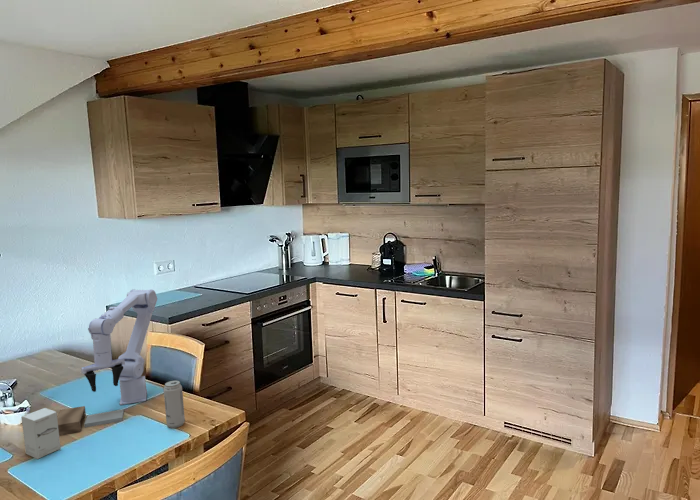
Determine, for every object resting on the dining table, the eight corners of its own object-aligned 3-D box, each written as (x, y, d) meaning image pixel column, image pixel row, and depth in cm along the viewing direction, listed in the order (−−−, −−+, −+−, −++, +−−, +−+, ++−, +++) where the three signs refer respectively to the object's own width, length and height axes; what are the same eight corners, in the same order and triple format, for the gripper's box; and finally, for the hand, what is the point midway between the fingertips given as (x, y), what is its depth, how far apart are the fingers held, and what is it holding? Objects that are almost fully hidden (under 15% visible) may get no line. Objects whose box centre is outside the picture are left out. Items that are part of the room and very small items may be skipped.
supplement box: (37, 459, 158) (32, 420, 156) (25, 454, 162) (20, 415, 160) (61, 449, 164) (57, 411, 162) (49, 443, 168) (44, 406, 166)
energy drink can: (166, 422, 179) (162, 381, 178) (184, 419, 182) (180, 378, 180) (167, 430, 174) (163, 387, 172) (185, 426, 176) (182, 384, 174)
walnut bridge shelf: (85, 415, 188) (84, 405, 188) (80, 431, 175) (78, 421, 175) (61, 419, 185) (60, 409, 185) (53, 436, 173) (52, 426, 172)
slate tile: (123, 413, 190) (123, 409, 189) (122, 422, 183) (121, 417, 182) (87, 420, 186) (87, 415, 185) (84, 428, 179) (84, 424, 178)
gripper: (118, 345, 193) (120, 380, 194) (77, 354, 183) (79, 391, 184) (126, 348, 188) (128, 384, 189) (84, 357, 178) (87, 395, 179)
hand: (104, 388), depth 186 cm, fingers open, 7 cm apart
